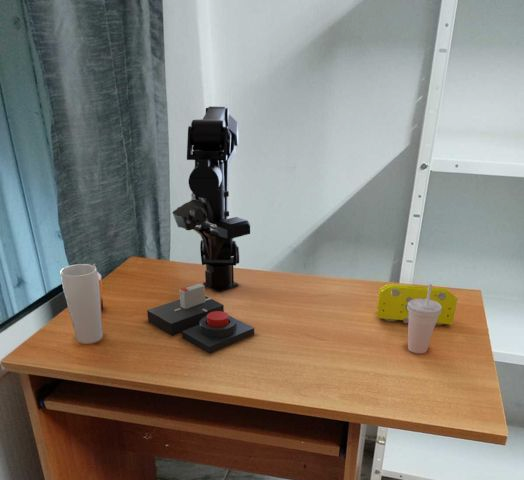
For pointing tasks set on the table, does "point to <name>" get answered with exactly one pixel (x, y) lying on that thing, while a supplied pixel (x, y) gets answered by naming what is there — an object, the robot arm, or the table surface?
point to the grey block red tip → (192, 296)
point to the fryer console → (181, 315)
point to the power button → (217, 319)
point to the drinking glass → (83, 301)
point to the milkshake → (100, 289)
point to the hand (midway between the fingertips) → (212, 259)
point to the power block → (217, 335)
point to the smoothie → (421, 322)
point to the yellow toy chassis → (398, 296)
